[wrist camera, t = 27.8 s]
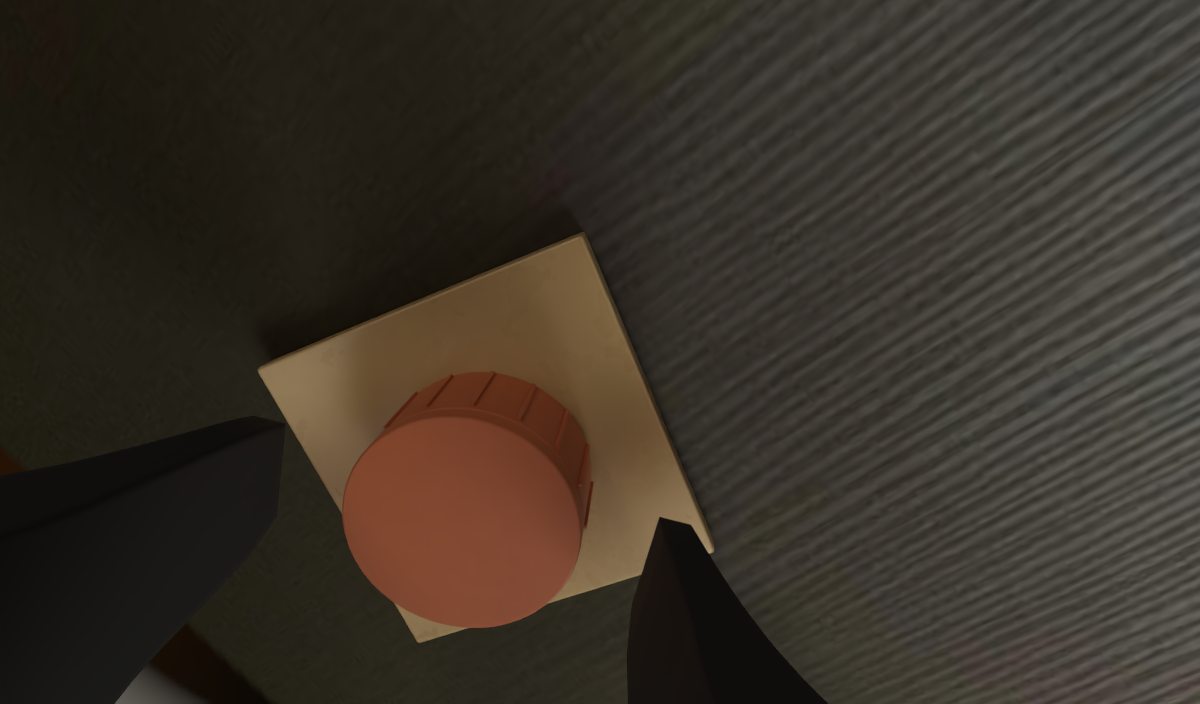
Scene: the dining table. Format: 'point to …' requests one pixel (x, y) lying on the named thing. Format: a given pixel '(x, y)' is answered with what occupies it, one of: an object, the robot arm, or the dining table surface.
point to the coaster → (522, 350)
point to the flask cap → (471, 501)
